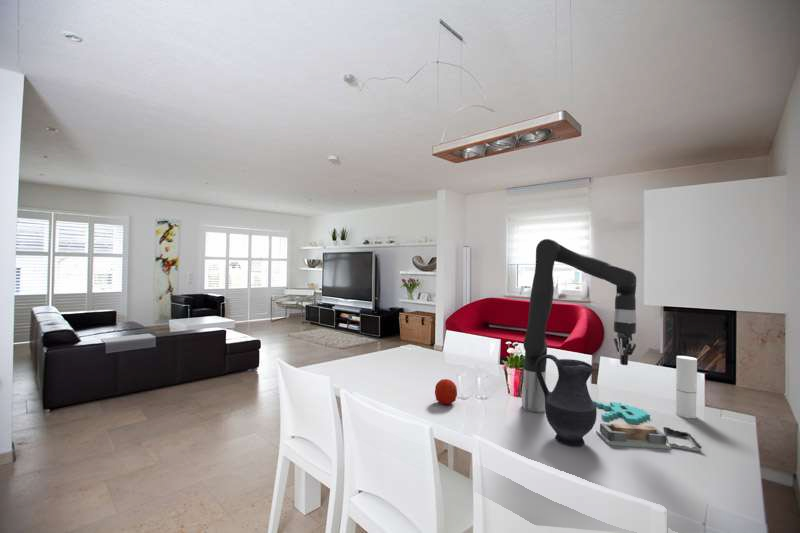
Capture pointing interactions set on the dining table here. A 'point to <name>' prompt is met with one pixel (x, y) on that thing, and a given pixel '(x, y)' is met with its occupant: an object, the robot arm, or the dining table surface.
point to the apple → (445, 392)
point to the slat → (634, 431)
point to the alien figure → (623, 412)
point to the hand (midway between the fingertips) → (624, 364)
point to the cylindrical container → (686, 386)
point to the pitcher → (569, 400)
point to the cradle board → (633, 442)
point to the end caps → (621, 436)
